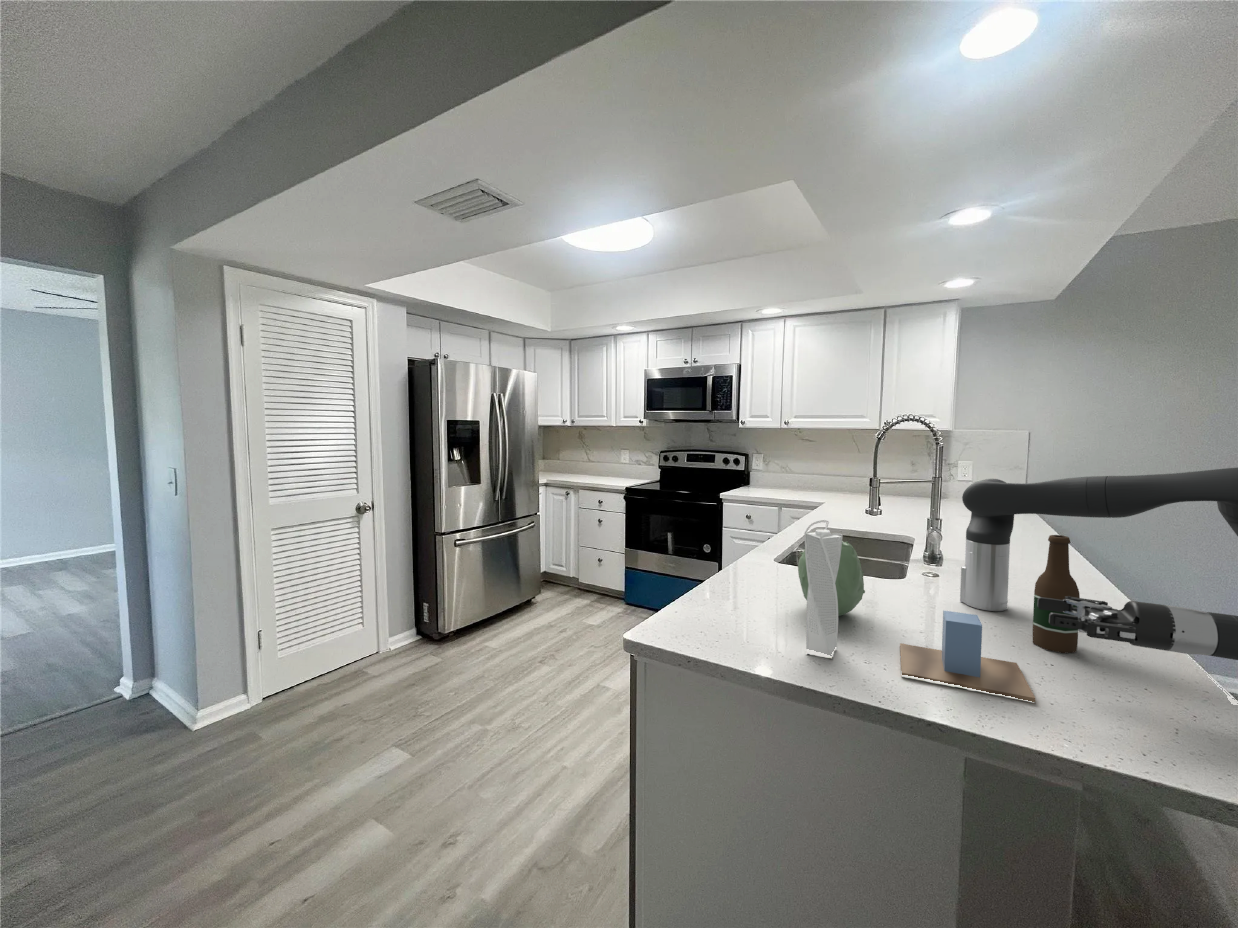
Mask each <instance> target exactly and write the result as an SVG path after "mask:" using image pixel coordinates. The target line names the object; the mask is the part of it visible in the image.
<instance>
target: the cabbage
mask: <svg viewBox="0 0 1238 928" xmlns="http://www.w3.org/2000/svg"><path fill="white" fill-rule="evenodd" d="M799 554H800V555H801V556H800V558H799V560H798V564H797V570H798V572H797V573H798V579H799V583H800V586H801V591H802V594H803V597H804V599H805V601H807V595H808V586H809V583H808V577H807V569H806V556H805V549H804V550H803V552H799ZM861 566H862V562H861V561H860V559H859V556H858V553H857V551H856V550H855V548H854V547H853V545H852V544H851V543H849V541H843V540H842V546H841V555H840V562H839V568H838V573H837V578H836V582H835V585H836V591H837V600H838V617H840V616H844V615H846V614H848V613H850V612H851V611H853V610H854V609H855V608H856V607H857V605H858V604H859V603H860V602H861V601H862V599H863V596H864V594H865V593H866V590H865V582H864V581H865V580H864V570H862V567H861Z"/></svg>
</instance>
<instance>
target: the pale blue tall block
mask: <svg viewBox="0 0 1238 928" xmlns="http://www.w3.org/2000/svg"><path fill="white" fill-rule="evenodd" d="M941 633H942V637H941V638H942V640H941V650H942V662H943V667H944V671H947V672H953V673H958V674H964V675H969V676H975V677H980V670H981V657H982V644H983V643H982V640H983V623H982V621H981V619H980V618H979V615H978V614H973V613H966V612H958V611H957V612H956V611H951V610H945V609H943V610H942V632H941Z"/></svg>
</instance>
